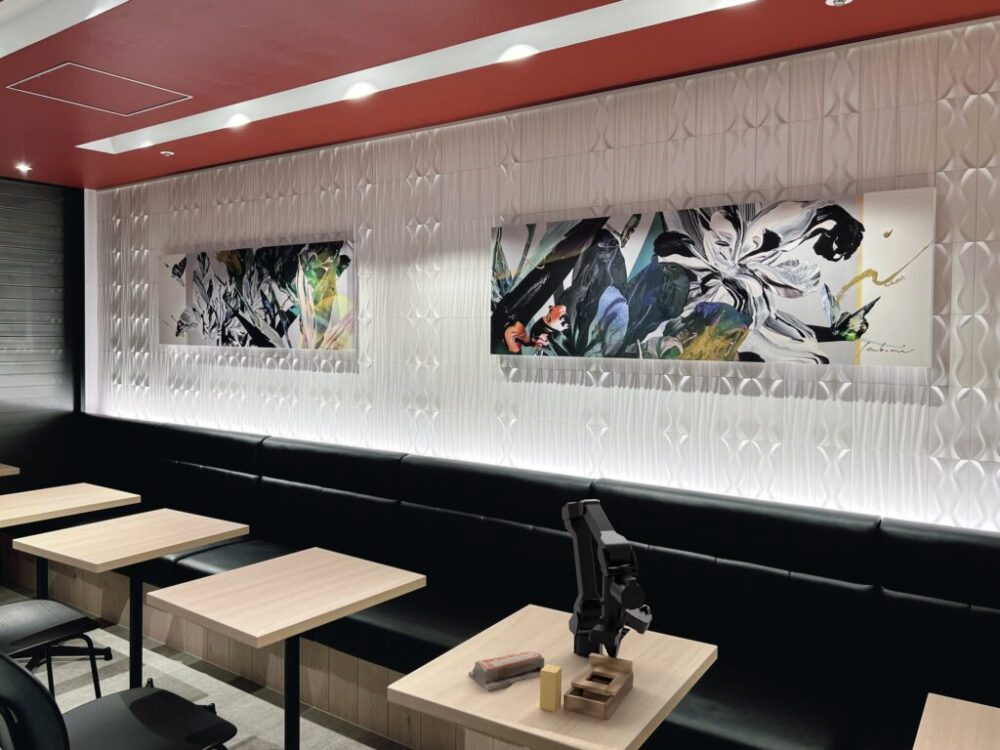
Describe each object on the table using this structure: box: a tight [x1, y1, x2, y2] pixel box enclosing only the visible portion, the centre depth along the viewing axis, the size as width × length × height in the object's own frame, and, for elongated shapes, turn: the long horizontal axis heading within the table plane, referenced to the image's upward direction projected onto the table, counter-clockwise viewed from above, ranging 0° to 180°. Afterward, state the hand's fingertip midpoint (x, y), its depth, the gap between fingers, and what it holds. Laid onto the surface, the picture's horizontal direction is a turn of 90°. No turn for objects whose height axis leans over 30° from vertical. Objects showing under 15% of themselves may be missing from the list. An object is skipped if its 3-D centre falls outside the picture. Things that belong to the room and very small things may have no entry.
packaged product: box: [468, 650, 545, 692], centre depth 189 cm, size 18×5×10 cm
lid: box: [570, 653, 634, 696], centre depth 178 cm, size 10×13×3 cm
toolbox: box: [562, 672, 634, 721], centre depth 176 cm, size 10×18×4 cm, turn 153°
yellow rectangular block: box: [539, 663, 563, 712], centre depth 171 cm, size 4×4×9 cm
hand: (613, 660), depth 184 cm, fingers closed
